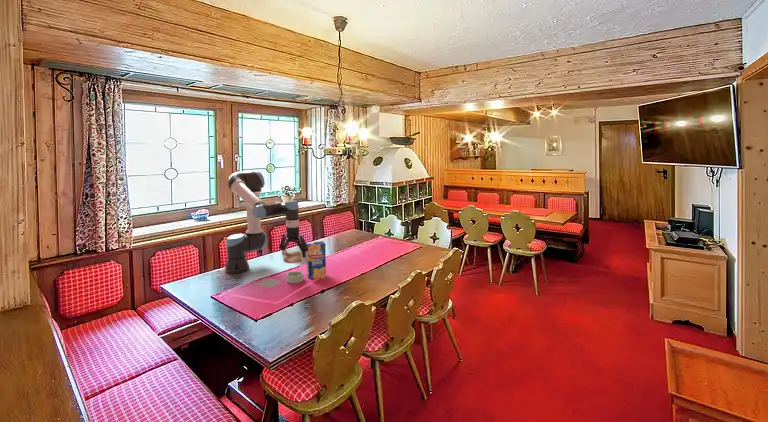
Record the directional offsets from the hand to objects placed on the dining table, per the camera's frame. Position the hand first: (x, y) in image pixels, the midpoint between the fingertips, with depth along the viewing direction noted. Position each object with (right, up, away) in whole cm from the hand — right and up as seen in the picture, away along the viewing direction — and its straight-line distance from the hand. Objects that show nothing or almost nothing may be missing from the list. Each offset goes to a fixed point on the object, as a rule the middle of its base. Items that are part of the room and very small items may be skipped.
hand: (294, 261), depth 235 cm
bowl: (0, -13, +2) cm, 13 cm away
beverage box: (+12, -11, +10) cm, 19 cm away
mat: (-14, -13, -3) cm, 20 cm away
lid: (0, +1, 0) cm, 1 cm away
